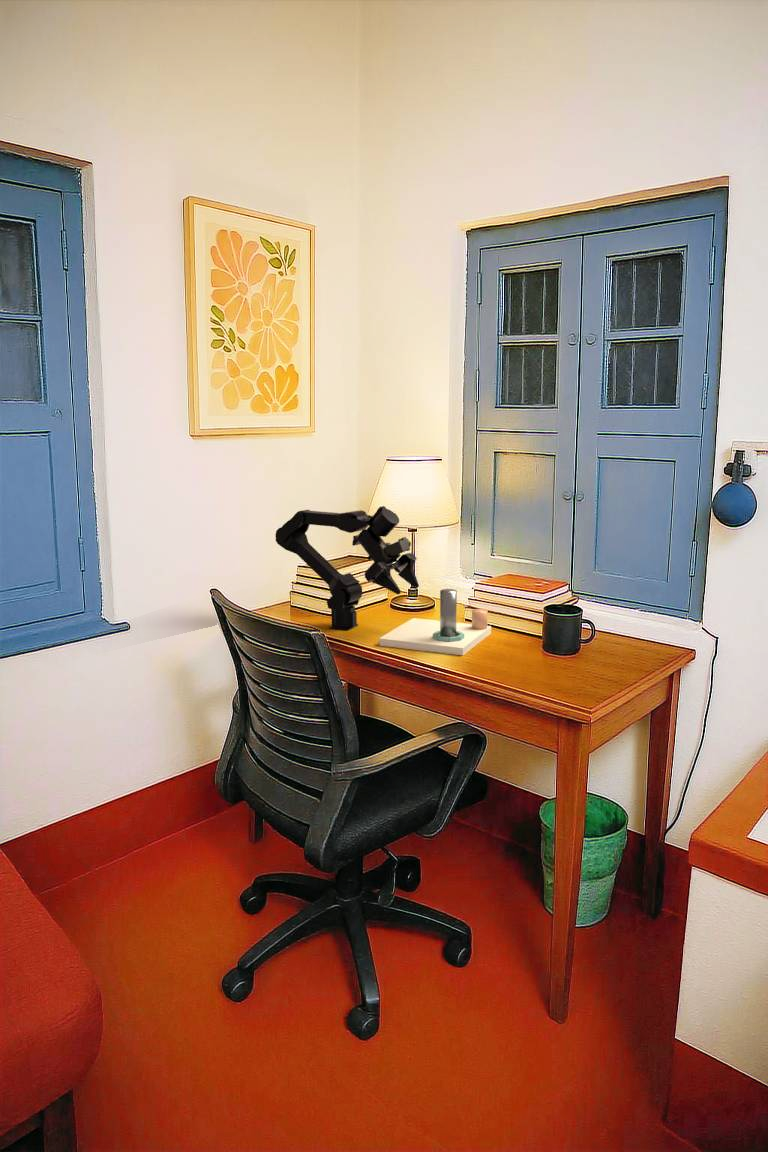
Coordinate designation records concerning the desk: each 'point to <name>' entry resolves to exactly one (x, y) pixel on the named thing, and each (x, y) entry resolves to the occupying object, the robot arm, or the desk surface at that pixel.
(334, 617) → the robot arm
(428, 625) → the board
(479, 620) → the peach rounded cylinder
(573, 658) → the desk surface
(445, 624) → the shiny metal cylinder
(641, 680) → the desk surface
